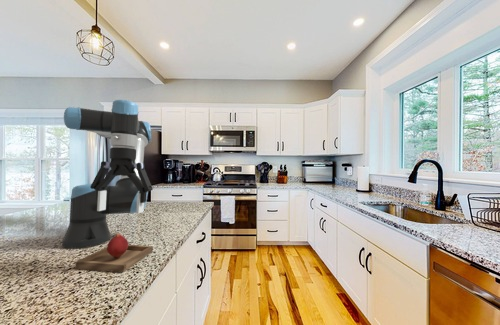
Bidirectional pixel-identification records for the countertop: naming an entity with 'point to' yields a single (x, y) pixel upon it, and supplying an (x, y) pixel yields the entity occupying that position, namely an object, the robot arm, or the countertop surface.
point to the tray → (114, 259)
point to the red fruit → (117, 246)
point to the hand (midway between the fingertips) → (120, 211)
